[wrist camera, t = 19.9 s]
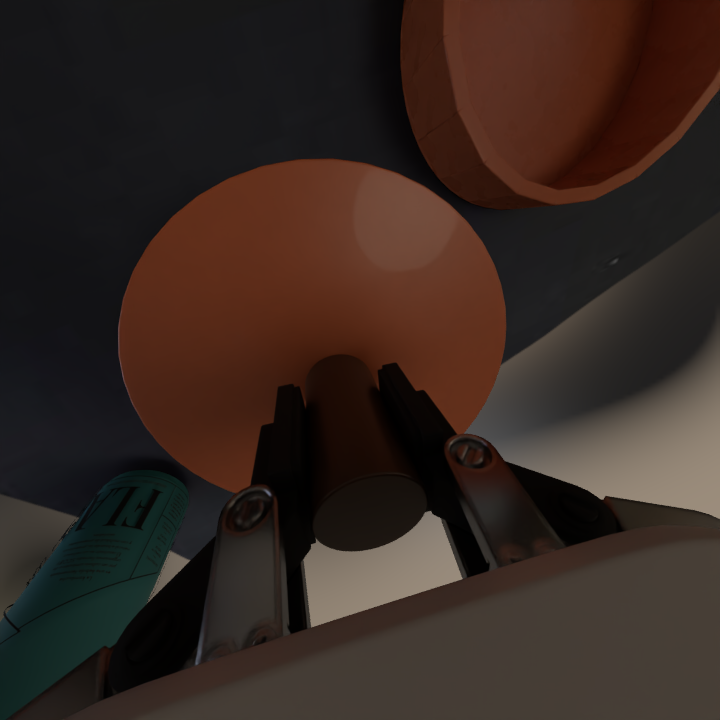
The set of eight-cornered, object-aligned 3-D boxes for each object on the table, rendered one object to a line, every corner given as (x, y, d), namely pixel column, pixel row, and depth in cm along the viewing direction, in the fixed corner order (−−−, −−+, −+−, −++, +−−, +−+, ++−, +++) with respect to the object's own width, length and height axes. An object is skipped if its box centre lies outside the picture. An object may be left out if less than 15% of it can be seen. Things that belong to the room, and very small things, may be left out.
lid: (23, 195, 8) (-1005, 100, 2) (516, 141, 10) (893, 6, 4) (222, 516, 16) (171, 712, 10) (476, 451, 18) (573, 577, 12)
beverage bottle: (191, 450, 22) (-211, 1259, 5) (204, 503, 25) (-22, 1134, 8) (99, 456, 21) (-924, 1612, 3) (124, 511, 24) (-373, 1301, 6)
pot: (390, -207, 11) (452, -509, 6) (708, -191, 12) (931, -419, 8) (405, 222, 18) (439, 221, 13) (606, 194, 20) (694, 185, 15)
